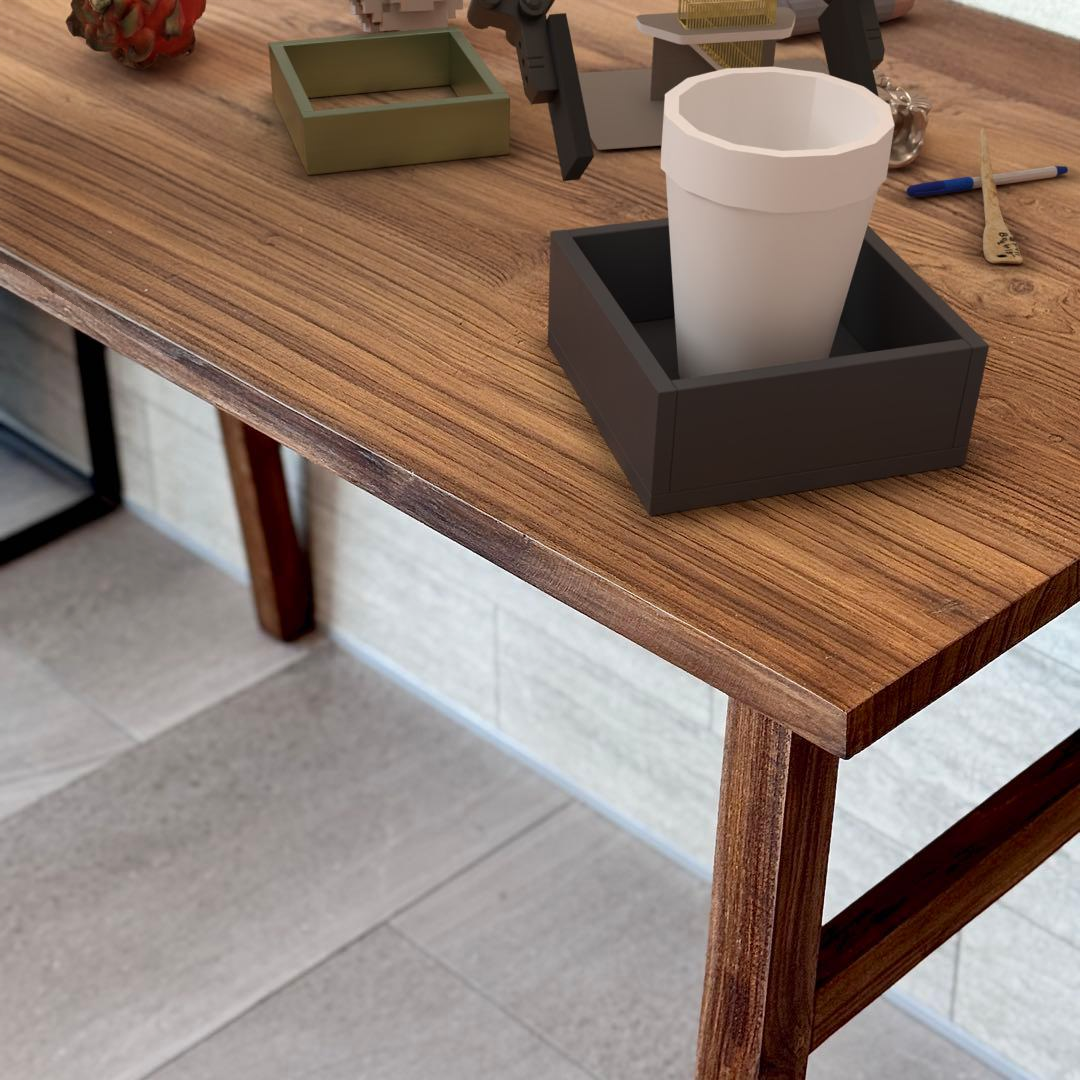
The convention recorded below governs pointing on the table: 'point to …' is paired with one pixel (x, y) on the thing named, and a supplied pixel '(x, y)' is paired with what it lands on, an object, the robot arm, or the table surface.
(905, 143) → the ornament
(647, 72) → the platform
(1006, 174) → the ballpoint pen
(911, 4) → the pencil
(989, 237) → the tool
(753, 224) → the foam cup
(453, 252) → the table surface
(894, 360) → the dark grey square tray
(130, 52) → the dragon fruit
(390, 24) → the caramel apple
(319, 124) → the olive square frame
